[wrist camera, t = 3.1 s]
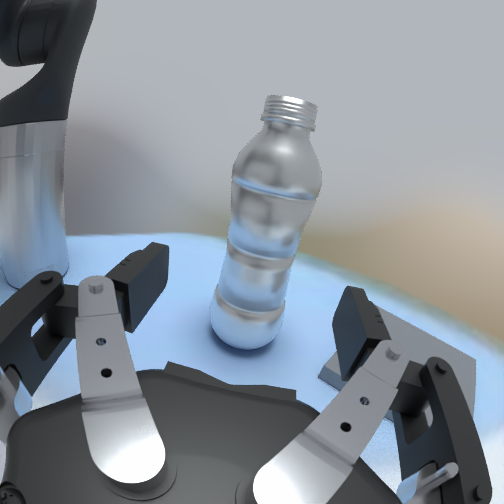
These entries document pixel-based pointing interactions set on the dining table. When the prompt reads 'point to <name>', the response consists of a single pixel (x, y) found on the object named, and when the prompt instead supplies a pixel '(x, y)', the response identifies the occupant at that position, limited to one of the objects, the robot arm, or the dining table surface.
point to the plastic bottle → (266, 223)
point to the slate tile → (416, 358)
